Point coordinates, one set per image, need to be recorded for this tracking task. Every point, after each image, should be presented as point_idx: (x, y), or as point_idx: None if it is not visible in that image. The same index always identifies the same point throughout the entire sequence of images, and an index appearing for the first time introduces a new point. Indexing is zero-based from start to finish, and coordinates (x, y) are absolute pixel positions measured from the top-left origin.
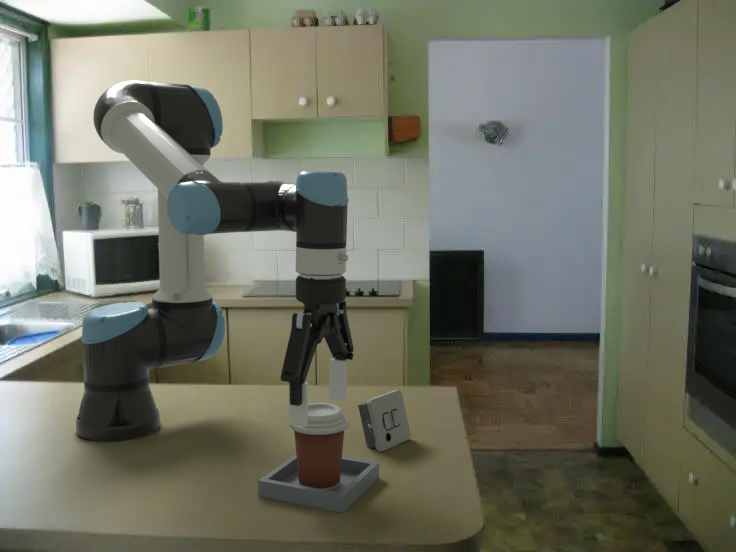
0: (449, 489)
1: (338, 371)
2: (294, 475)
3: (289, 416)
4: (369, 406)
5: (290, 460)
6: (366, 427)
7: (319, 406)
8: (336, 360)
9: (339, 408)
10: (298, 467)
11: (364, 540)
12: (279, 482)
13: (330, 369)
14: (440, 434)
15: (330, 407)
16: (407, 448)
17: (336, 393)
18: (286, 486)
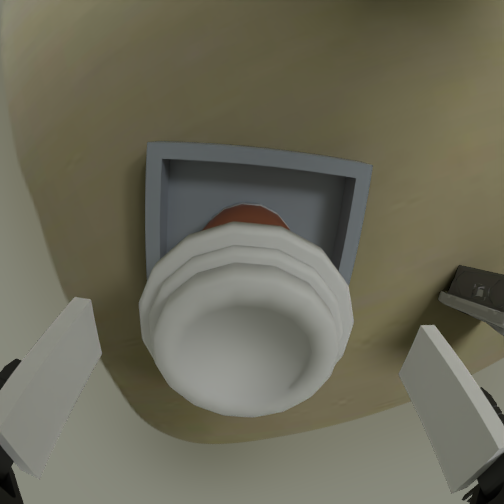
0: (301, 415)
1: (452, 439)
2: (275, 176)
3: (61, 314)
4: (499, 317)
5: (295, 162)
6: (482, 280)
7: (307, 338)
8: (477, 471)
9: (278, 409)
10: (210, 223)
11: (102, 358)
12: (155, 194)
13: (475, 415)
14: (493, 345)
15: (303, 374)
16: (452, 327)
17: (419, 365)
18: (145, 217)
